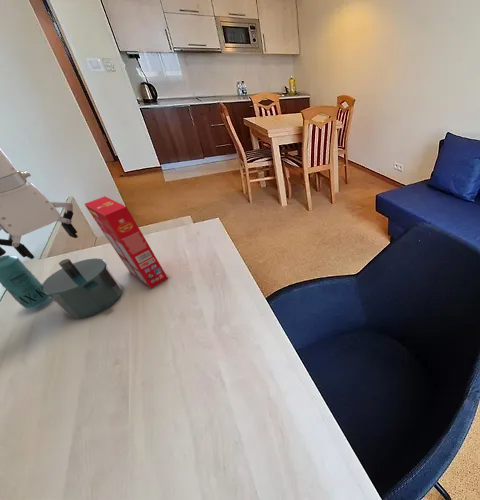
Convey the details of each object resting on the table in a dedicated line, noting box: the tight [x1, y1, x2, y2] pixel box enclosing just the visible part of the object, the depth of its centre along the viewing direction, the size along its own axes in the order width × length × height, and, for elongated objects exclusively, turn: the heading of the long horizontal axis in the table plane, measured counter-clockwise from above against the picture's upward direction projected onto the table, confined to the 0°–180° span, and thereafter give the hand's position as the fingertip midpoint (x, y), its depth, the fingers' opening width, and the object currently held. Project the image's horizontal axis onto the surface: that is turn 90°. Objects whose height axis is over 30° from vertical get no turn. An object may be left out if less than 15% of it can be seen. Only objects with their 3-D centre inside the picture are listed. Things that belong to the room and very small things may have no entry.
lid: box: [41, 258, 108, 295], centre depth 82 cm, size 15×15×6 cm
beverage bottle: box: [0, 246, 51, 309], centre depth 84 cm, size 6×7×20 cm
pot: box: [48, 266, 123, 320], centre depth 86 cm, size 14×19×10 cm
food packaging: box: [84, 195, 169, 289], centre depth 89 cm, size 15×5×25 cm, turn 54°
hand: (53, 246), depth 77 cm, fingers open, 9 cm apart
